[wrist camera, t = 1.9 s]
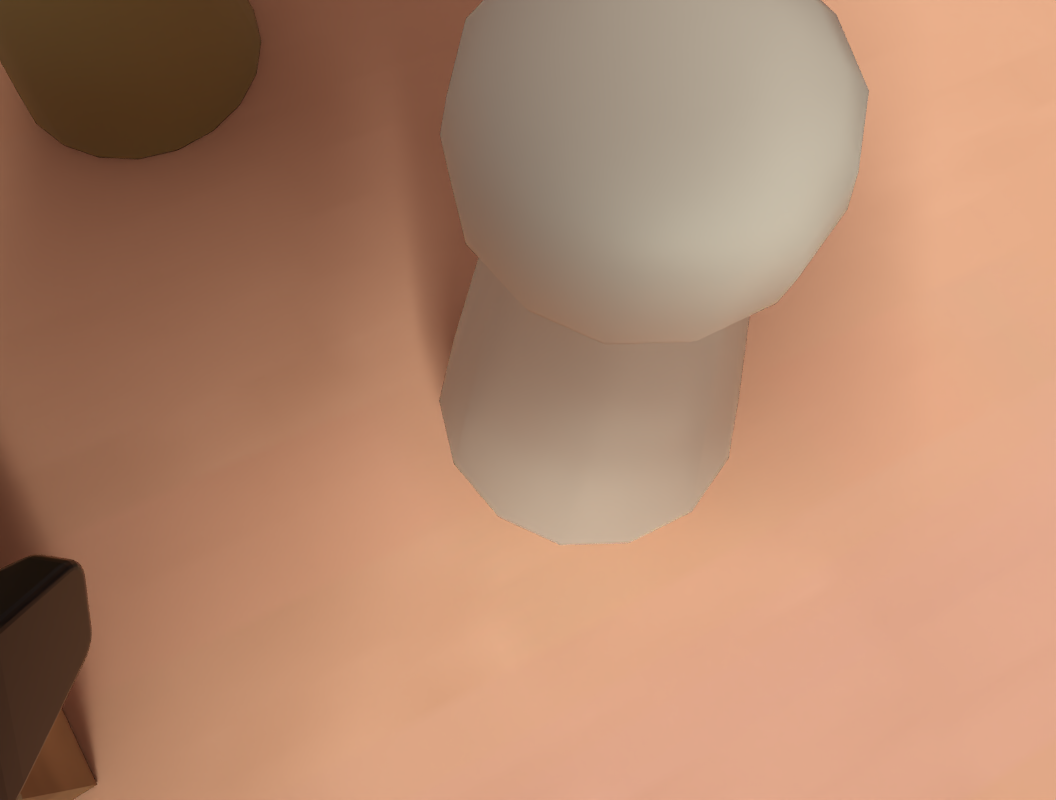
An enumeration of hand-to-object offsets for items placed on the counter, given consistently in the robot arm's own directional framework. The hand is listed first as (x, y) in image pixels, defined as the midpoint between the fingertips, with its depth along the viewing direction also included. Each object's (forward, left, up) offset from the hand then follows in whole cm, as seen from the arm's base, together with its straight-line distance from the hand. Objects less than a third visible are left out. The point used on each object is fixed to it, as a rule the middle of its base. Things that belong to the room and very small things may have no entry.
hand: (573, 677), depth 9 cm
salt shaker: (+4, -4, -12) cm, 13 cm away
